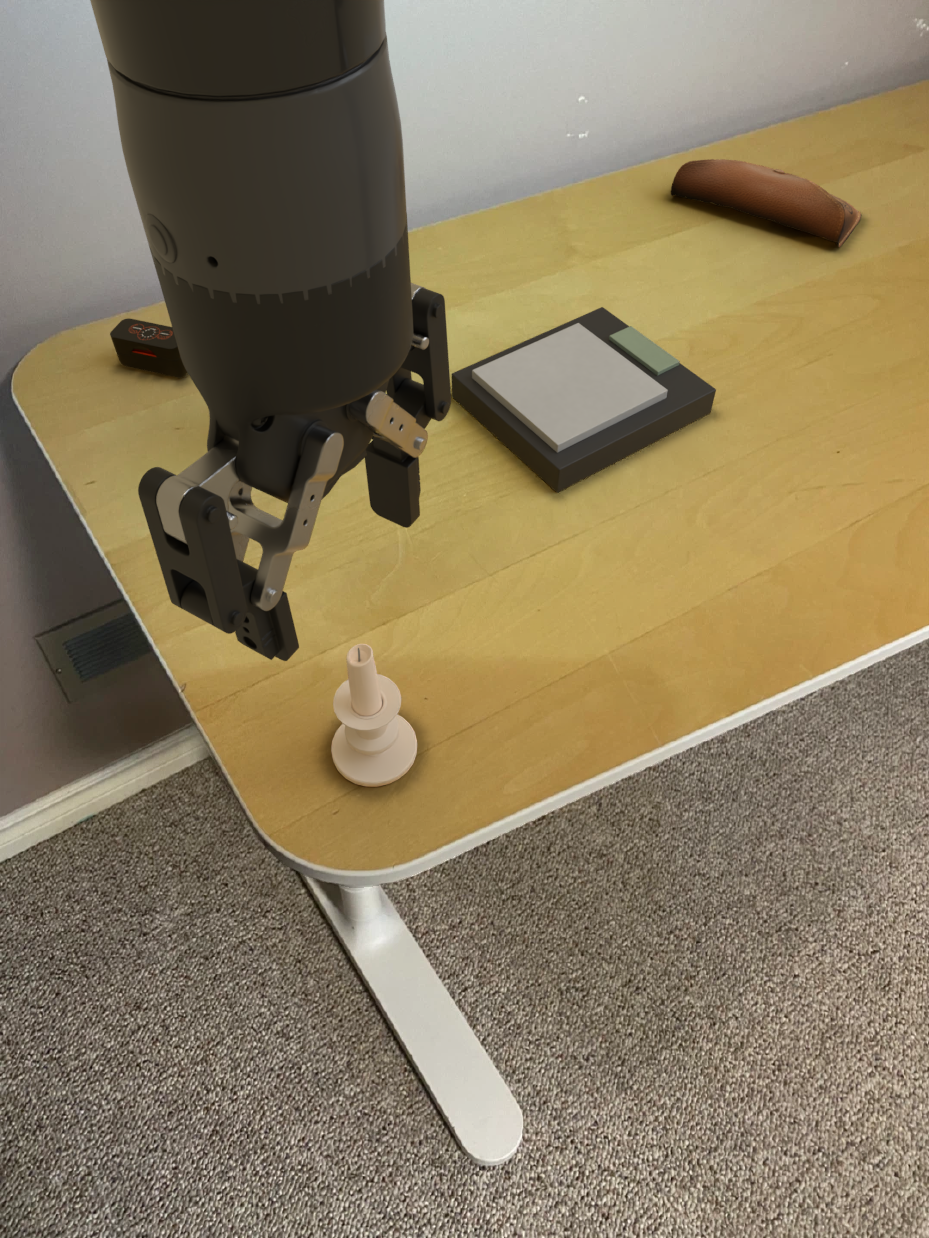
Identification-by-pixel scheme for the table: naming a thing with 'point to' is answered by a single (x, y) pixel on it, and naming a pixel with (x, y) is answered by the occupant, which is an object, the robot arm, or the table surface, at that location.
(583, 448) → the scale
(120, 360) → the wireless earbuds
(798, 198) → the sunglasses case
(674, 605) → the table surface
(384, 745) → the candle
